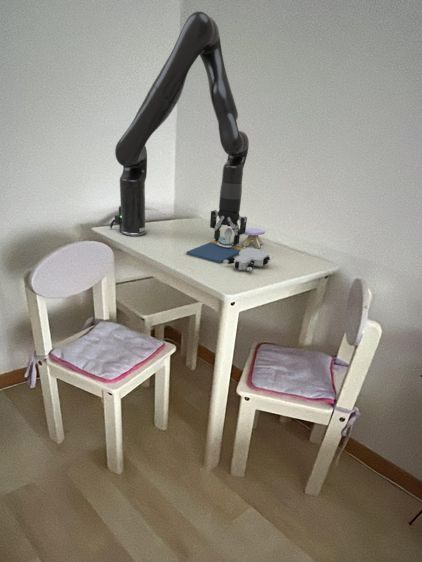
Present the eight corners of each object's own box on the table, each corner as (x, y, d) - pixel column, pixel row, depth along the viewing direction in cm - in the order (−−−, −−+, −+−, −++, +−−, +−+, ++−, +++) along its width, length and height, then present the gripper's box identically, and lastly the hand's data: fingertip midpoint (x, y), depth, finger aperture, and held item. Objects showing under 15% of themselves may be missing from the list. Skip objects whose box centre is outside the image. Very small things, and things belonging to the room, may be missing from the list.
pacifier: (228, 250, 156) (238, 246, 160) (230, 233, 152) (239, 229, 156) (213, 245, 160) (222, 241, 164) (214, 228, 156) (223, 225, 160)
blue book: (186, 254, 151) (186, 251, 151) (215, 242, 166) (215, 239, 165) (220, 263, 146) (220, 260, 145) (246, 250, 160) (247, 247, 160)
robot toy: (250, 279, 138) (274, 265, 147) (252, 266, 135) (276, 253, 145) (220, 269, 144) (245, 256, 153) (220, 256, 141) (246, 244, 151)
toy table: (245, 249, 162) (247, 233, 159) (235, 242, 169) (237, 227, 166) (268, 248, 165) (270, 233, 162) (257, 241, 172) (259, 226, 169)
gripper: (253, 198, 150) (247, 244, 159) (218, 191, 156) (214, 236, 165) (243, 201, 144) (238, 249, 154) (207, 193, 150) (204, 240, 159)
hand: (226, 242), depth 159 cm, fingers closed on pacifier, 7 cm apart
